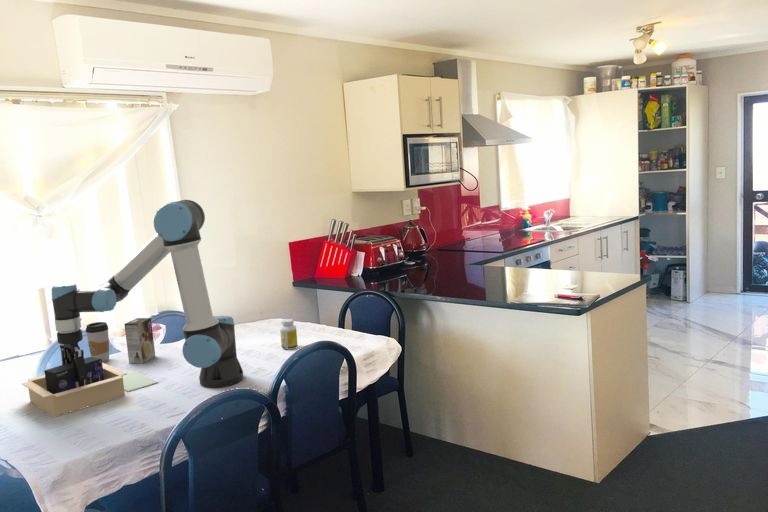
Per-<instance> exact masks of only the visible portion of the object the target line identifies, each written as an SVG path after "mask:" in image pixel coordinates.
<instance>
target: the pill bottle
mask: <svg viewBox="0 0 768 512" xmlns="http://www.w3.org/2000/svg"><path fill="white" fill-rule="evenodd" d="M281 325H282V326H281V327H280V328H279V329H280V343H281V349H282V348H283V349H282V350H285V349H291V350H294V348H295V349H297V348H298V346H299V345H298V333H297V327H296V325H294V319H293V318H285V319H282V320H281ZM296 347H297V348H296Z"/></svg>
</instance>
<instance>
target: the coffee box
mask: <svg viewBox="0 0 768 512" xmlns="http://www.w3.org/2000/svg"><path fill="white" fill-rule="evenodd" d="M124 331H125V340H126V349H127V357H128V364H144V363H146V362H147V361H149V360H151V359H152V358H154V357H156V350H155V341H154V334H153V324H152V318H151V317H137V318H135V319H133V320H129V321H128V322H126V323H124Z"/></svg>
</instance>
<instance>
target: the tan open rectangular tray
mask: <svg viewBox="0 0 768 512" xmlns="http://www.w3.org/2000/svg"><path fill="white" fill-rule="evenodd" d="M102 366H103V375H104V380H102V381H99V382H95V383H92V384H88V385H85V386H81V387H78V388H74V389H70V390H67V391H63V392H60V393H56V394H52V393H50V392H49V391H47V387H46V379H45V374H44V375H40V376H36V377H32V378H29V379H28V380H27V381H26V382H22V383H21V385H22V386H24V387H25V388H27V389H28V395H29V400H30V401H29V402H30V403H32V404H34V405H35V406H36V407H38V408H40V409H41V410H43V411H44V412H46V413H47V414H49V415H51V417H54V418H55V417H59V416H62V415H61V414H63V415H65V414H64V413H66V414H68V413H67V412H69V413H71V412H70V411H72V412H75V411H74V410H76V411H79V410H81V409H80V408H82V409H85V408H84V407H86V408H88V407H87V406H89V407H91V405H92V406H94V405H98V403H99V404H102V403H104V401H105V402H107V400H108V401H112V400H115V399H119V398H121V397H124V396H126V394H125V392H126V391H125V390H124V384H123V375H127V373H125V372H126V371H122V370H120V369H119V368H116V367H114V366H111V365H109V364H108V363H107V364H106V362H103V363H102ZM111 399H112V400H111ZM78 409H79V410H78Z"/></svg>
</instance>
